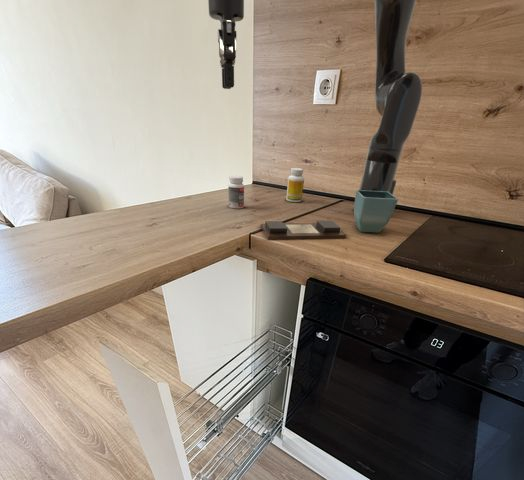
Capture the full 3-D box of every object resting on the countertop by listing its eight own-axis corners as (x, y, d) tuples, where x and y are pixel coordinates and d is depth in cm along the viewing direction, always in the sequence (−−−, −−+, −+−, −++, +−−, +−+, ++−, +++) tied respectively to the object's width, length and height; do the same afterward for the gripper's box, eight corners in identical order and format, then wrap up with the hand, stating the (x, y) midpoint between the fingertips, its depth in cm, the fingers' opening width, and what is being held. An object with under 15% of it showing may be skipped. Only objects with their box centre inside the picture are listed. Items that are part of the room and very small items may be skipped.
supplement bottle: (284, 198, 107) (287, 167, 101) (298, 198, 108) (302, 167, 102) (288, 202, 103) (291, 170, 96) (303, 202, 104) (307, 170, 98)
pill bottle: (241, 209, 93) (241, 178, 88) (227, 208, 94) (226, 177, 89) (245, 205, 97) (245, 176, 92) (231, 204, 97) (230, 174, 92)
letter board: (331, 225, 84) (332, 218, 83) (345, 238, 77) (346, 230, 76) (260, 226, 81) (260, 218, 80) (268, 239, 73) (268, 231, 72)
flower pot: (348, 224, 86) (355, 189, 81) (378, 226, 86) (388, 191, 81) (354, 234, 79) (363, 196, 74) (387, 236, 79) (399, 199, 74)
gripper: (247, -24, 58) (246, 88, 68) (240, -4, 69) (240, 90, 79) (208, -29, 57) (213, 85, 67) (207, -8, 68) (211, 88, 78)
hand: (228, 88), depth 73 cm, fingers open, 8 cm apart
